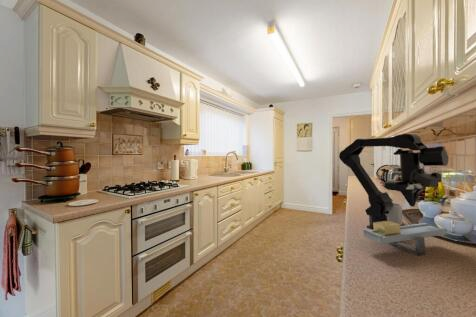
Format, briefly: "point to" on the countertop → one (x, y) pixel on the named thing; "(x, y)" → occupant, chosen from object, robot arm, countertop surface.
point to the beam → (406, 233)
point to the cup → (395, 214)
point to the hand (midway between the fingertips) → (412, 206)
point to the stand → (417, 250)
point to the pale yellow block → (386, 228)
